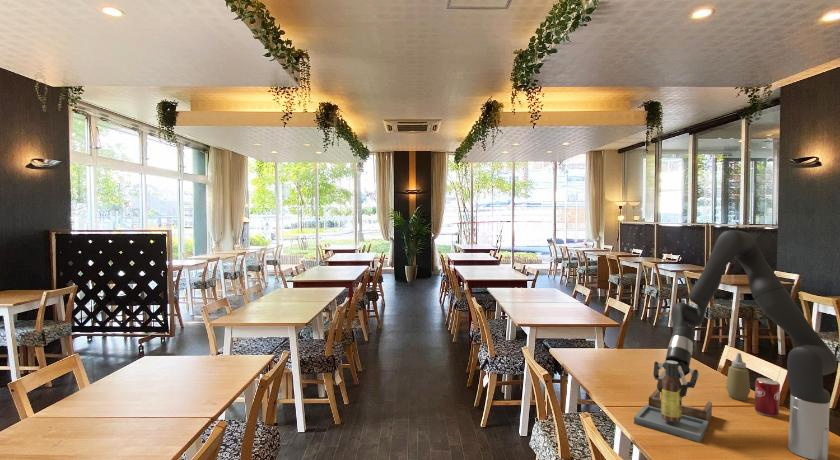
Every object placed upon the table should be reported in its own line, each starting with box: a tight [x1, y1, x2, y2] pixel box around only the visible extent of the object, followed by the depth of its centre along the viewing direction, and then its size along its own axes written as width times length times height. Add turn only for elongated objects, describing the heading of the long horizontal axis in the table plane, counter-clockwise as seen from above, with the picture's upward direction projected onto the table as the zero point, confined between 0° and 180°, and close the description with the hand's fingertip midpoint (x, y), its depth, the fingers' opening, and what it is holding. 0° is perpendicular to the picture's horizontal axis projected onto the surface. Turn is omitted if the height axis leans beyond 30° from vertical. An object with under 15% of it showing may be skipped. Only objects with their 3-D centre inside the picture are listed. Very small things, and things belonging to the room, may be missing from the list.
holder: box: [648, 389, 713, 422], centre depth 168 cm, size 18×11×5 cm, turn 49°
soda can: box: [754, 377, 781, 417], centre depth 169 cm, size 7×7×12 cm
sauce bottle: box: [660, 360, 683, 422], centre depth 158 cm, size 6×6×20 cm
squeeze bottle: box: [725, 352, 751, 401], centre depth 183 cm, size 8×8×18 cm
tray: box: [633, 404, 709, 443], centre depth 158 cm, size 20×14×2 cm
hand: (670, 393), depth 157 cm, fingers closed on sauce bottle, 6 cm apart
